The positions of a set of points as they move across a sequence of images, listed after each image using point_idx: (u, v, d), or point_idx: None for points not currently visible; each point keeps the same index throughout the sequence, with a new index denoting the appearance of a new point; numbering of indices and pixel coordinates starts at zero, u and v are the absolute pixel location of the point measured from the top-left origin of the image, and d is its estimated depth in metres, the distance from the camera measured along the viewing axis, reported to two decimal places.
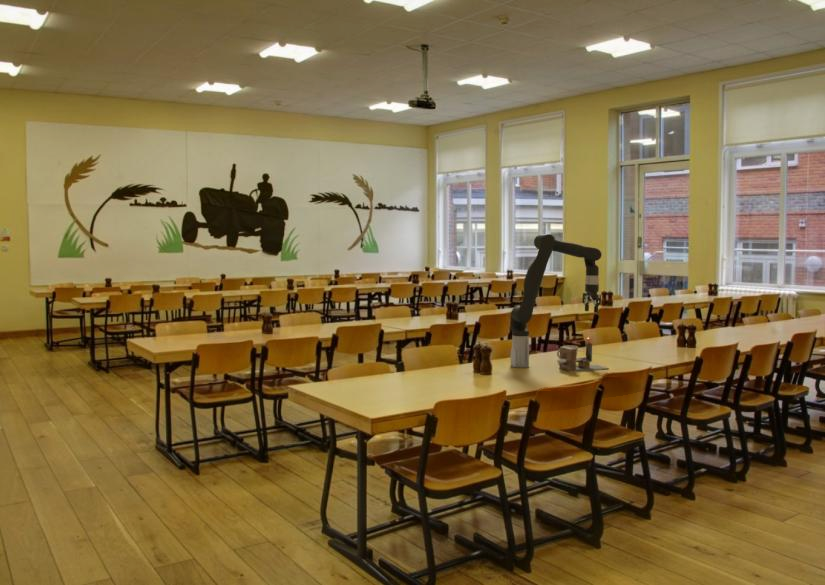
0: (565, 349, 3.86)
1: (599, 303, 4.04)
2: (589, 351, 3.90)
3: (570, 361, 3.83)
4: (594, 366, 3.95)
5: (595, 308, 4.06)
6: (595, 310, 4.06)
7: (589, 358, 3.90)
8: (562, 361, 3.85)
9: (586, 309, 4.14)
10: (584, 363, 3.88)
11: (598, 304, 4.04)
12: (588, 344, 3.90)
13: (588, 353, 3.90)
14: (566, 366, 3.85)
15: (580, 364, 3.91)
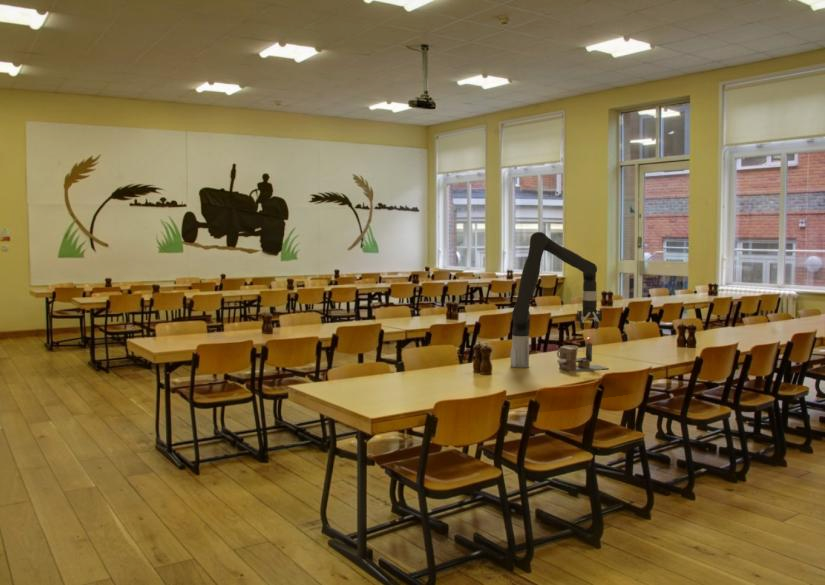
0: (565, 349, 3.86)
1: None
2: (589, 351, 3.90)
3: (570, 361, 3.83)
4: (594, 366, 3.95)
5: (597, 324, 3.91)
6: (597, 326, 3.91)
7: (589, 358, 3.90)
8: (562, 361, 3.85)
9: None
10: (584, 363, 3.88)
11: None
12: (588, 344, 3.90)
13: (588, 353, 3.90)
14: (566, 366, 3.85)
15: (580, 364, 3.91)
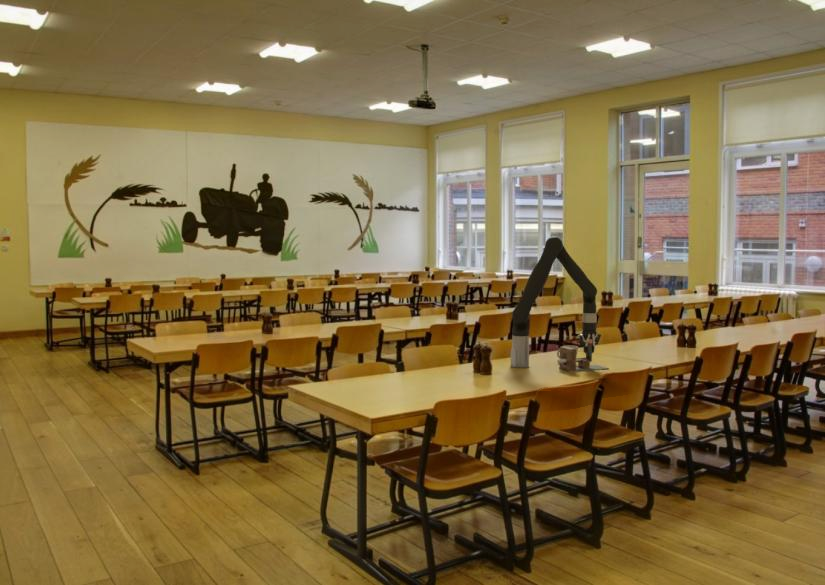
0: (565, 349, 3.86)
1: None
2: (589, 351, 3.90)
3: (570, 361, 3.83)
4: (594, 366, 3.95)
5: (593, 348, 3.91)
6: (593, 350, 3.92)
7: (589, 358, 3.90)
8: (562, 361, 3.85)
9: None
10: (584, 363, 3.88)
11: None
12: (588, 344, 3.90)
13: (588, 353, 3.90)
14: (566, 366, 3.85)
15: (580, 364, 3.91)
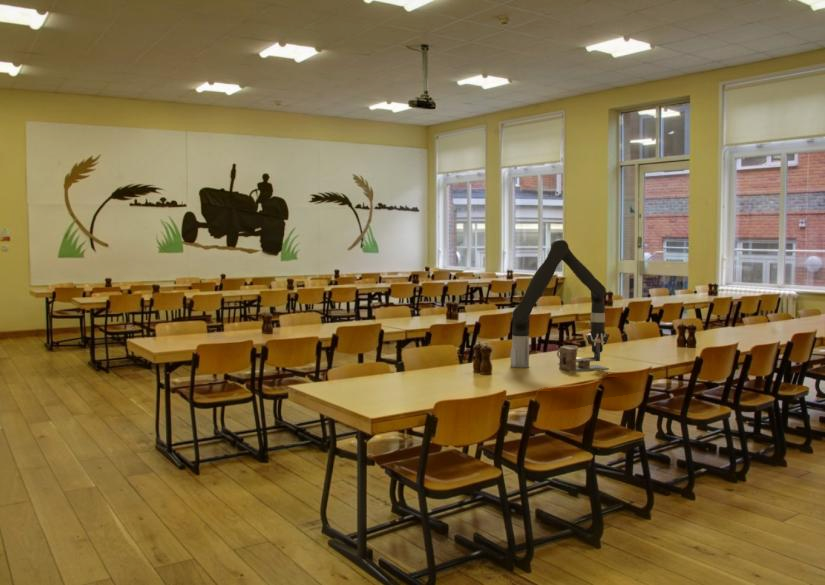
0: (565, 349, 3.86)
1: None
2: (597, 351, 3.92)
3: (570, 361, 3.83)
4: (594, 366, 3.95)
5: (601, 347, 3.93)
6: (601, 350, 3.93)
7: (597, 357, 3.92)
8: None
9: None
10: (584, 363, 3.88)
11: None
12: (596, 344, 3.91)
13: (596, 353, 3.92)
14: (566, 366, 3.85)
15: (580, 364, 3.91)
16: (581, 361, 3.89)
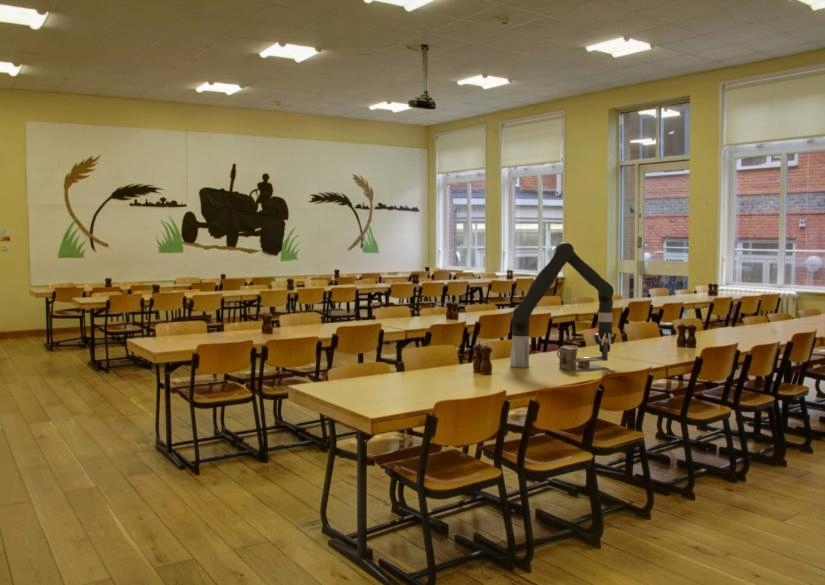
0: (565, 349, 3.86)
1: None
2: (605, 350, 3.93)
3: (570, 361, 3.83)
4: (594, 366, 3.95)
5: (609, 347, 3.95)
6: (609, 349, 3.95)
7: (605, 357, 3.93)
8: (578, 360, 3.89)
9: None
10: (584, 363, 3.88)
11: (612, 342, 3.95)
12: (604, 343, 3.93)
13: (604, 352, 3.93)
14: (566, 366, 3.85)
15: (580, 364, 3.91)
16: None
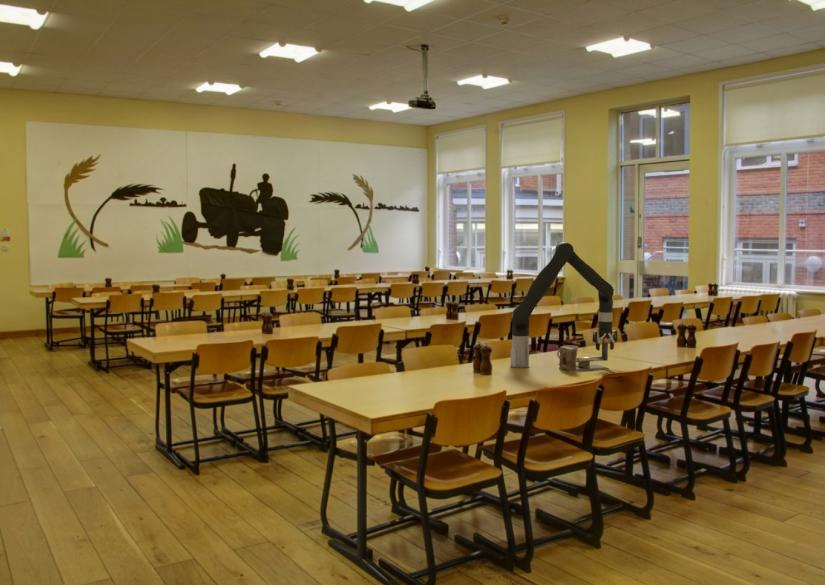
0: (565, 349, 3.86)
1: None
2: (605, 350, 3.93)
3: (570, 361, 3.83)
4: (594, 366, 3.95)
5: (613, 345, 3.95)
6: (613, 347, 3.95)
7: (605, 357, 3.93)
8: (578, 360, 3.89)
9: None
10: (584, 363, 3.88)
11: (616, 340, 3.96)
12: (604, 343, 3.93)
13: (604, 352, 3.93)
14: (566, 366, 3.85)
15: (580, 364, 3.91)
16: None
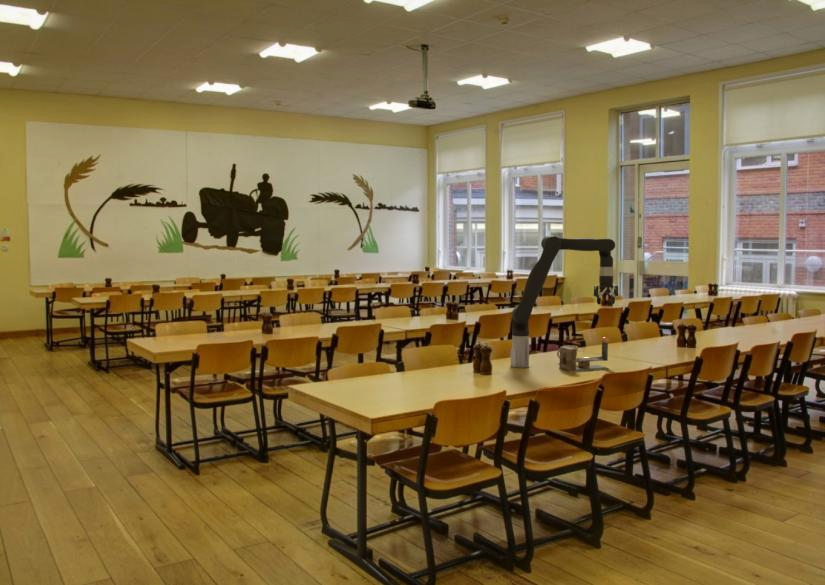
0: (565, 349, 3.86)
1: None
2: (605, 350, 3.93)
3: (570, 361, 3.83)
4: (594, 366, 3.95)
5: (614, 299, 4.00)
6: (614, 301, 4.00)
7: (605, 357, 3.93)
8: (578, 360, 3.89)
9: None
10: (584, 363, 3.88)
11: None
12: (604, 343, 3.93)
13: (604, 352, 3.93)
14: (566, 366, 3.85)
15: (580, 364, 3.91)
16: None
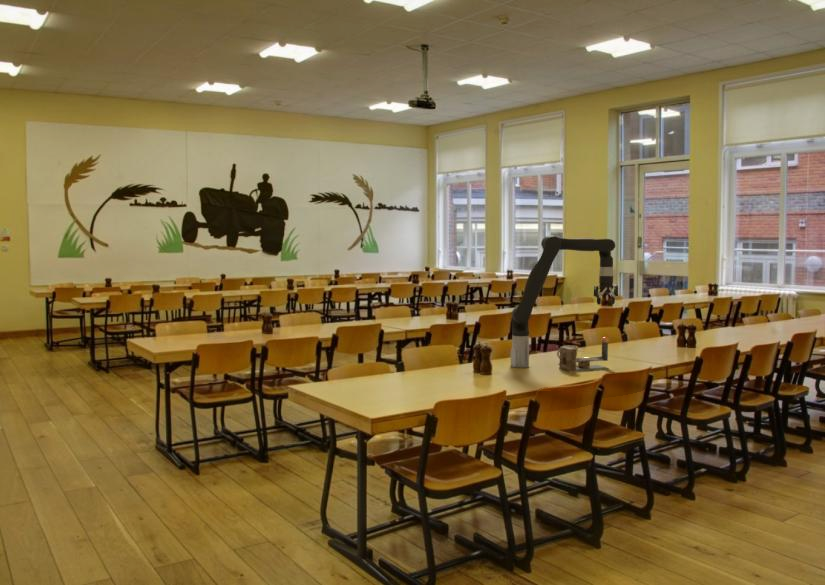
0: (565, 349, 3.86)
1: None
2: (605, 350, 3.93)
3: (570, 361, 3.83)
4: (594, 366, 3.95)
5: (614, 299, 4.00)
6: (613, 301, 4.01)
7: (605, 357, 3.93)
8: (578, 360, 3.89)
9: None
10: (584, 363, 3.88)
11: None
12: (604, 343, 3.93)
13: (604, 352, 3.93)
14: (566, 366, 3.85)
15: (580, 364, 3.91)
16: None
